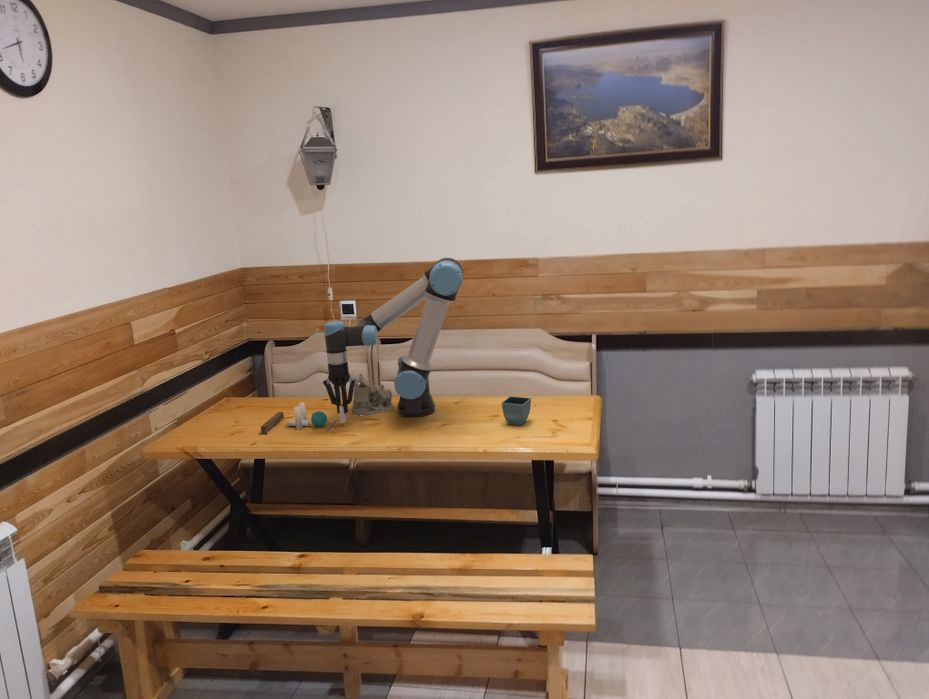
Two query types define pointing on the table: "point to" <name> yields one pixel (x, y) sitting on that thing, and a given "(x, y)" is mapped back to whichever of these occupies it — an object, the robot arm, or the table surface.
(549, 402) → the table surface
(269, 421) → the brown wooden bar
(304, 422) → the pin front
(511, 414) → the flower pot
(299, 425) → the pin
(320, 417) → the ball
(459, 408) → the table surface
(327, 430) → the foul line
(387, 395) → the grey castle model
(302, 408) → the pin
